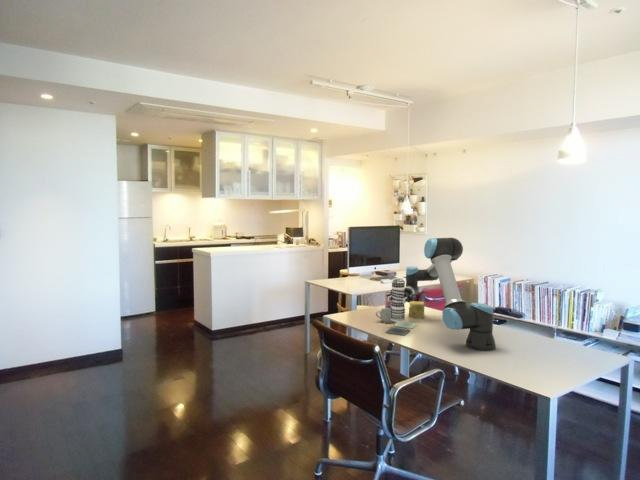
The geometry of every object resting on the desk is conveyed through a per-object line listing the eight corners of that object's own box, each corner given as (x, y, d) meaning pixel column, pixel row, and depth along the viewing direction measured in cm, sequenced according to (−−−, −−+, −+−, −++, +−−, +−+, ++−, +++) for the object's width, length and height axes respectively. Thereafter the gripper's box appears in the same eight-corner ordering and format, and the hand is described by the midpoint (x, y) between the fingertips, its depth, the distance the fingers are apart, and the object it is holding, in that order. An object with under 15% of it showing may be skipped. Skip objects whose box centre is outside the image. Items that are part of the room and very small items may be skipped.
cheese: (408, 318, 293) (408, 303, 292) (409, 314, 303) (410, 300, 302) (424, 319, 290) (424, 304, 289) (424, 315, 300) (425, 301, 299)
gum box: (397, 319, 290) (397, 299, 289) (385, 318, 291) (386, 298, 290) (395, 310, 314) (396, 292, 313) (384, 310, 315) (385, 291, 314)
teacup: (396, 320, 287) (396, 308, 287) (397, 324, 277) (397, 312, 276) (375, 319, 289) (375, 307, 288) (375, 323, 278) (375, 311, 277)
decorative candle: (408, 321, 257) (409, 280, 255) (394, 322, 255) (394, 280, 252) (401, 317, 266) (401, 277, 264) (387, 318, 263) (388, 278, 261)
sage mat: (417, 324, 277) (417, 323, 277) (412, 329, 266) (412, 328, 266) (399, 322, 282) (399, 321, 282) (393, 326, 272) (393, 325, 272)
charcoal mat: (410, 330, 263) (410, 329, 263) (404, 335, 252) (404, 334, 252) (391, 328, 268) (391, 327, 268) (385, 333, 258) (385, 332, 258)
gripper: (423, 300, 270) (413, 308, 250) (391, 297, 280) (378, 304, 260) (423, 289, 269) (413, 296, 250) (391, 285, 280) (378, 292, 260)
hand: (395, 300), depth 255 cm, fingers closed on decorative candle, 9 cm apart
